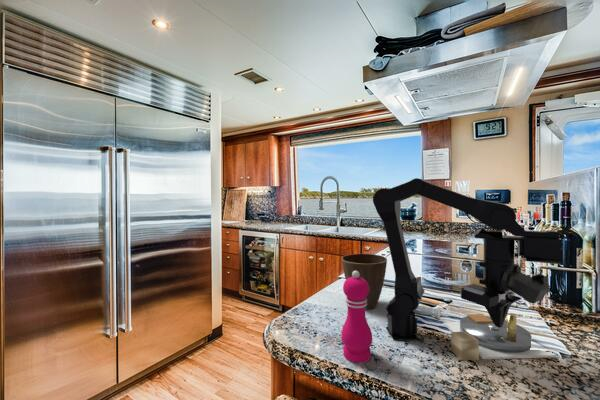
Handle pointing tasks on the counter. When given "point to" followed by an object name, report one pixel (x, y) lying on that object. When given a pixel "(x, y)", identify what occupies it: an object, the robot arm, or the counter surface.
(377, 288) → the plant pot
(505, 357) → the base board
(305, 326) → the counter surface
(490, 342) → the crank wheel
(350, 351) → the pepper mill
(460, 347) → the link block
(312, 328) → the counter surface
